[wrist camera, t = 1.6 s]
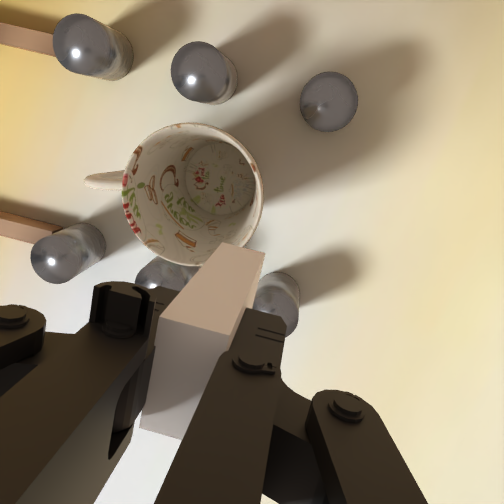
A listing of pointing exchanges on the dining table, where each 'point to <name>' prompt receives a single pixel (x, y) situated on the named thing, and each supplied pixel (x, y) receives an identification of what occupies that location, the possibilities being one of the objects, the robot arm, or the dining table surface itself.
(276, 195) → the dining table surface
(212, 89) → the spacer field
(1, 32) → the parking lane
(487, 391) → the dining table surface
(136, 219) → the mug
